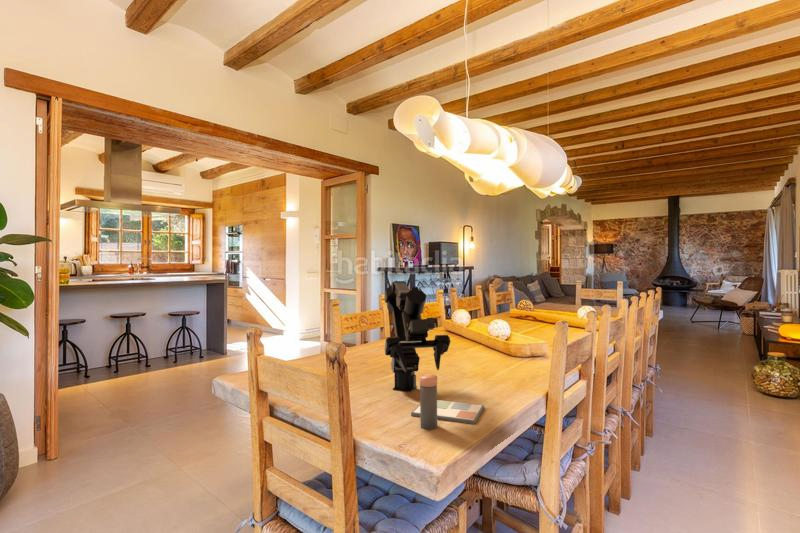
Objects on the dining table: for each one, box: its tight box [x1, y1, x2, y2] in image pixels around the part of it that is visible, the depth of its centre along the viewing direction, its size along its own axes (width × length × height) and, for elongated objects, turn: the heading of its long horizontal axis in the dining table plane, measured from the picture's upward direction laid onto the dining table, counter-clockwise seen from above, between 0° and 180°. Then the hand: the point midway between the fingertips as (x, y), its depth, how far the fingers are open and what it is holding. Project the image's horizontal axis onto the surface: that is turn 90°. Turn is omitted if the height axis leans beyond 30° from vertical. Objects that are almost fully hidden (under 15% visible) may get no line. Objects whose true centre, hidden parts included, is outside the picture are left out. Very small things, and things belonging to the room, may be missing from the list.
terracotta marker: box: [419, 373, 438, 431], centre depth 108 cm, size 5×5×13 cm
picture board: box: [410, 399, 485, 425], centre depth 118 cm, size 18×13×1 cm
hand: (422, 370), depth 115 cm, fingers open, 9 cm apart
